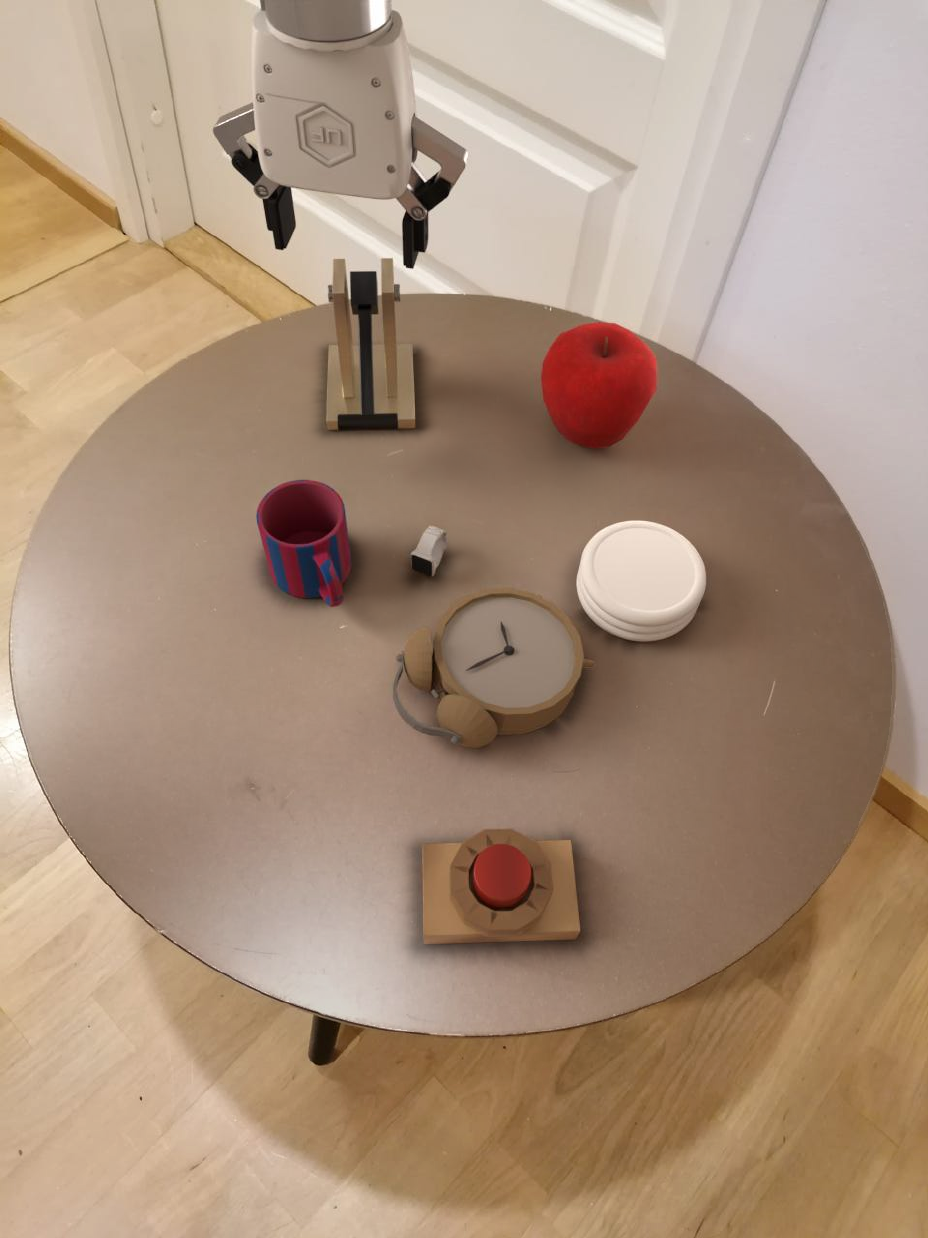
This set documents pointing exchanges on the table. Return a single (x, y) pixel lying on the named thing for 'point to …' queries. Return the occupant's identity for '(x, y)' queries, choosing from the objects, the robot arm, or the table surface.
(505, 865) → the button
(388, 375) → the bracket
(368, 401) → the lever
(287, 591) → the mug
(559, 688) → the alarm clock
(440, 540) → the smartwatch
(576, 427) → the apple
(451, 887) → the button block
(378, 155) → the robot arm
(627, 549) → the coaster
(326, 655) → the table surface
